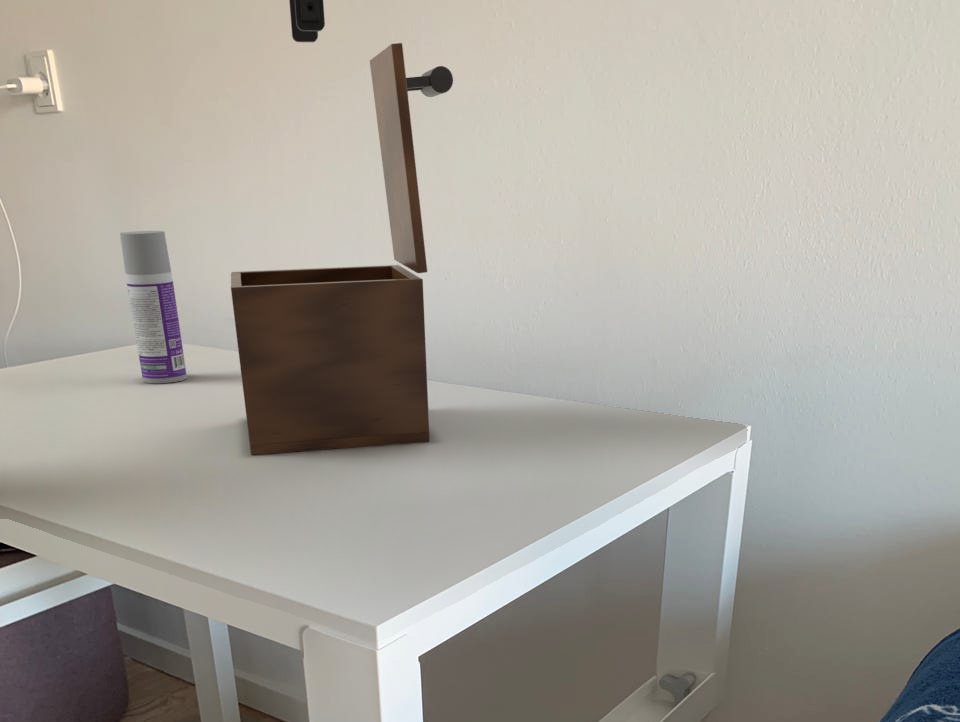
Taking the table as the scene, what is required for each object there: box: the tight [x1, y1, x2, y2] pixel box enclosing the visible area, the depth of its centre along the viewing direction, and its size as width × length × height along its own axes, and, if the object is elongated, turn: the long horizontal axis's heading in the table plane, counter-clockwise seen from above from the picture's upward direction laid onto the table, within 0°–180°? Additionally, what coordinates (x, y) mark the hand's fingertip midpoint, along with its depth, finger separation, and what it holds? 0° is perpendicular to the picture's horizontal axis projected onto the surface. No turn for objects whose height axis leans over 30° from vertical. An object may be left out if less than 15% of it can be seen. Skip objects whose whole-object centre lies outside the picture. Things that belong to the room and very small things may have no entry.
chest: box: [230, 264, 430, 456], centre depth 85 cm, size 15×13×13 cm
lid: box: [369, 42, 454, 274], centre depth 80 cm, size 15×13×5 cm
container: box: [119, 230, 188, 384], centre depth 107 cm, size 5×5×15 cm
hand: (308, 36), depth 84 cm, fingers open, 8 cm apart
